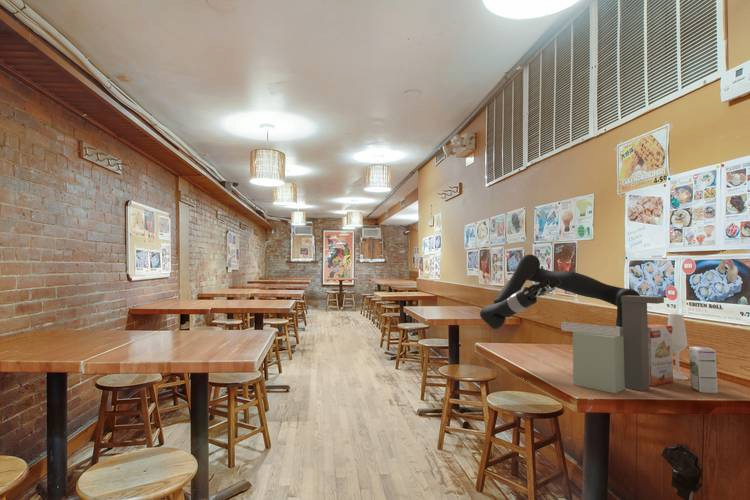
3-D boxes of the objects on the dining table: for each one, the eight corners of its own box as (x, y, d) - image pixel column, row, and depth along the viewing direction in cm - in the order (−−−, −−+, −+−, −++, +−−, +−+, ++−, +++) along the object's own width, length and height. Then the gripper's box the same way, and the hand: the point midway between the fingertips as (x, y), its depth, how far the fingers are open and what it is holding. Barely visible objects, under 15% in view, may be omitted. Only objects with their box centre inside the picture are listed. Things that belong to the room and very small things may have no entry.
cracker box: (652, 387, 149) (651, 327, 150) (635, 383, 154) (634, 325, 155) (675, 382, 155) (673, 325, 156) (657, 378, 161) (656, 323, 162)
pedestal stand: (623, 387, 148) (621, 296, 149) (630, 384, 152) (628, 295, 154) (659, 395, 139) (657, 297, 141) (666, 391, 144) (663, 296, 145)
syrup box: (718, 393, 141) (717, 349, 142) (698, 392, 142) (697, 349, 143) (708, 388, 147) (707, 346, 148) (689, 387, 148) (688, 346, 149)
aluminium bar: (561, 330, 158) (561, 322, 158) (565, 329, 160) (564, 321, 160) (620, 337, 143) (619, 328, 143) (623, 336, 145) (623, 327, 145)
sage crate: (573, 384, 151) (572, 332, 152) (583, 380, 156) (582, 330, 157) (615, 393, 141) (614, 337, 142) (624, 389, 146) (623, 335, 147)
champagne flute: (662, 375, 166) (661, 313, 167) (678, 374, 166) (676, 313, 167) (676, 379, 159) (674, 315, 160) (693, 379, 160) (691, 315, 161)
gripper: (507, 292, 169) (540, 272, 159) (526, 291, 179) (558, 272, 168) (516, 309, 166) (550, 290, 156) (535, 307, 175) (568, 289, 165)
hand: (554, 280), depth 162 cm, fingers open, 8 cm apart
